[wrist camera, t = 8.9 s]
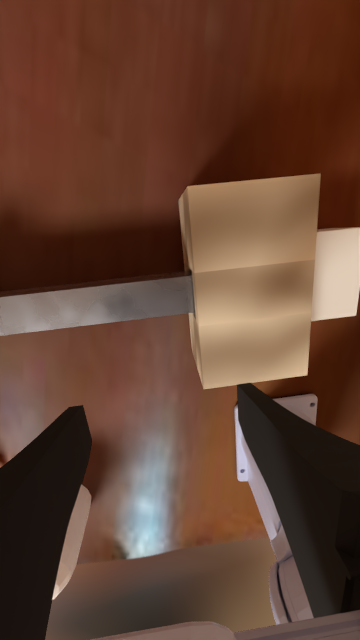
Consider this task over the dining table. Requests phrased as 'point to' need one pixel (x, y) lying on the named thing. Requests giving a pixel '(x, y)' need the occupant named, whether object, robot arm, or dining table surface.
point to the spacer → (336, 273)
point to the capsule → (73, 539)
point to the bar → (96, 302)
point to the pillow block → (251, 276)
